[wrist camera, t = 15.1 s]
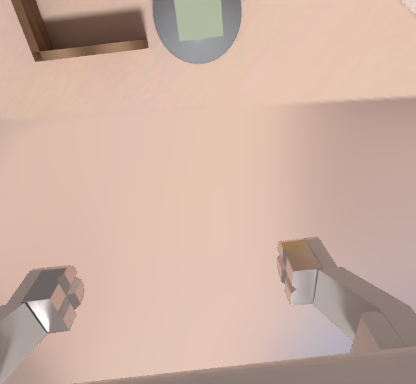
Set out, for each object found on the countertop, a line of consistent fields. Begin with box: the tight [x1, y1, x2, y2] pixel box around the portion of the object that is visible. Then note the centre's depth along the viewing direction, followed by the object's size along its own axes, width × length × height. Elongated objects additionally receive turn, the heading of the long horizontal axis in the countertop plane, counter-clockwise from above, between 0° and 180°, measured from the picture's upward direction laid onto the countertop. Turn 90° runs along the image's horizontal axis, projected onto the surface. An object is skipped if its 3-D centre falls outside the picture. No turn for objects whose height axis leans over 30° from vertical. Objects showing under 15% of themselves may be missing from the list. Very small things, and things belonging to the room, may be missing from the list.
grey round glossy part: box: [153, 0, 241, 64], centre depth 33 cm, size 11×11×1 cm
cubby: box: [11, 0, 148, 62], centre depth 31 cm, size 14×11×4 cm
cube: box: [174, 0, 223, 41], centre depth 31 cm, size 5×5×5 cm
